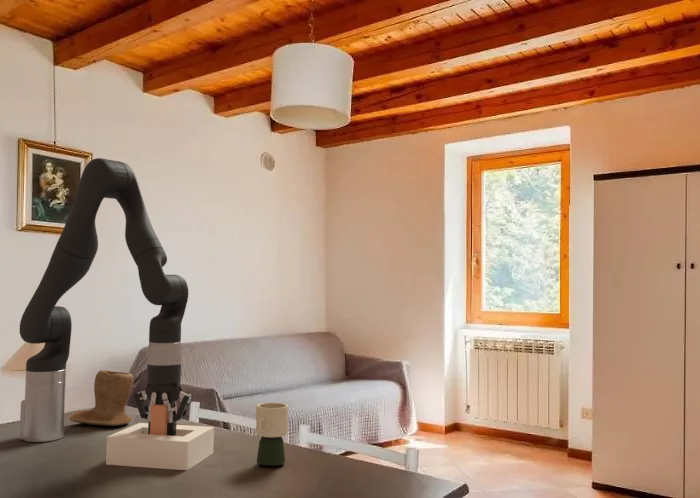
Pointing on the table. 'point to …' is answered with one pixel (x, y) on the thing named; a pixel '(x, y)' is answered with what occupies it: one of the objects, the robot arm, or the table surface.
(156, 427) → the orange block
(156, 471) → the table surface
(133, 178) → the robot arm
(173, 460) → the well block
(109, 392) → the brown boot-shaped piece
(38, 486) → the table surface
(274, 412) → the character mug
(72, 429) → the table surface
